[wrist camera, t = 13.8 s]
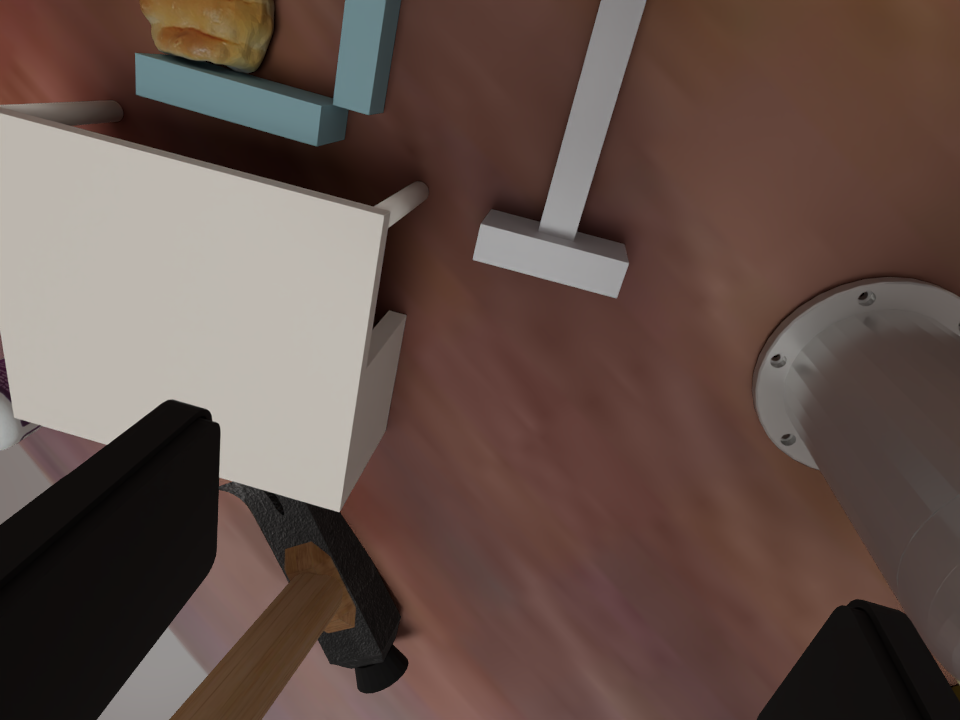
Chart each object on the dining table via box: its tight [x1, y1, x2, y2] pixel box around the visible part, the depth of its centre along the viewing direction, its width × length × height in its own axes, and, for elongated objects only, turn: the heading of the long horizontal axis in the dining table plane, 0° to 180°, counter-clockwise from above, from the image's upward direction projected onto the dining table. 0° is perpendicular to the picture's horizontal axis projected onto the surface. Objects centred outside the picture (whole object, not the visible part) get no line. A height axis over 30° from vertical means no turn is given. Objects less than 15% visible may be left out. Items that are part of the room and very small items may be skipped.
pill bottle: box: [0, 357, 43, 451], centre depth 41 cm, size 5×5×10 cm
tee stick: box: [473, 0, 646, 298], centre depth 28 cm, size 8×20×6 cm, turn 167°
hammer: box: [169, 481, 408, 720], centre depth 35 cm, size 20×5×30 cm, turn 26°
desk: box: [0, 100, 429, 512], centre depth 35 cm, size 20×18×9 cm
